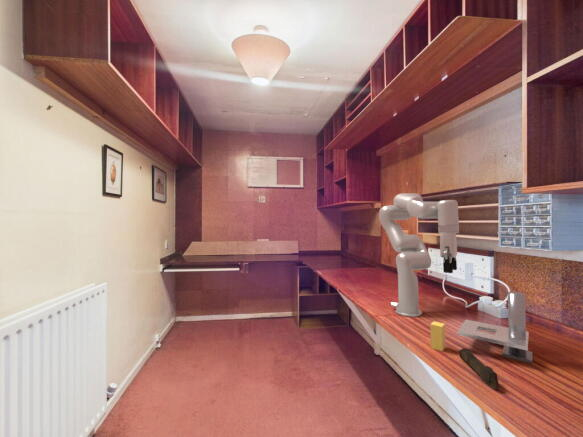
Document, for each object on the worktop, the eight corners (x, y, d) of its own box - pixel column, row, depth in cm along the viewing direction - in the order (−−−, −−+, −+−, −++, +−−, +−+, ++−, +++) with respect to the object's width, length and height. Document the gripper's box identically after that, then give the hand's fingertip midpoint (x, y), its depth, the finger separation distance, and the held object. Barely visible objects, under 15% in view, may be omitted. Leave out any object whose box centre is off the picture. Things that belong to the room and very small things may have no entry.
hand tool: (458, 358, 98) (458, 345, 98) (470, 359, 98) (470, 346, 98) (485, 391, 80) (485, 375, 80) (501, 392, 79) (501, 376, 79)
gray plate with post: (457, 349, 105) (456, 290, 105) (466, 335, 117) (465, 282, 117) (532, 368, 91) (530, 300, 91) (532, 350, 103) (531, 290, 103)
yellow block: (430, 348, 106) (430, 324, 106) (433, 344, 109) (433, 321, 109) (442, 351, 104) (442, 326, 104) (445, 347, 107) (444, 323, 107)
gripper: (442, 229, 126) (444, 268, 125) (433, 230, 112) (435, 273, 112) (462, 229, 121) (464, 269, 121) (455, 229, 108) (457, 274, 107)
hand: (450, 271), depth 116 cm, fingers open, 9 cm apart
